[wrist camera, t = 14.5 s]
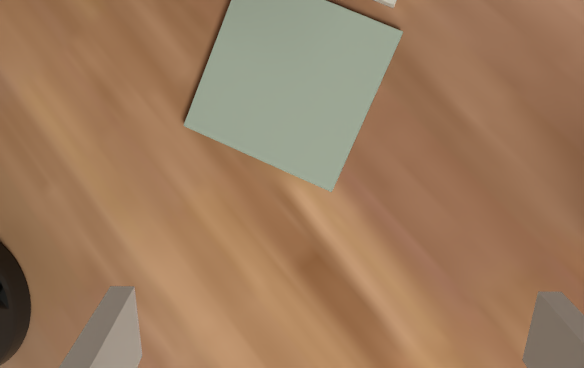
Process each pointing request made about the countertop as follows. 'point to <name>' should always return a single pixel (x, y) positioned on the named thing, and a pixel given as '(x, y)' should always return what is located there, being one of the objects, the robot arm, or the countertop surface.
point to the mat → (292, 83)
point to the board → (387, 2)
